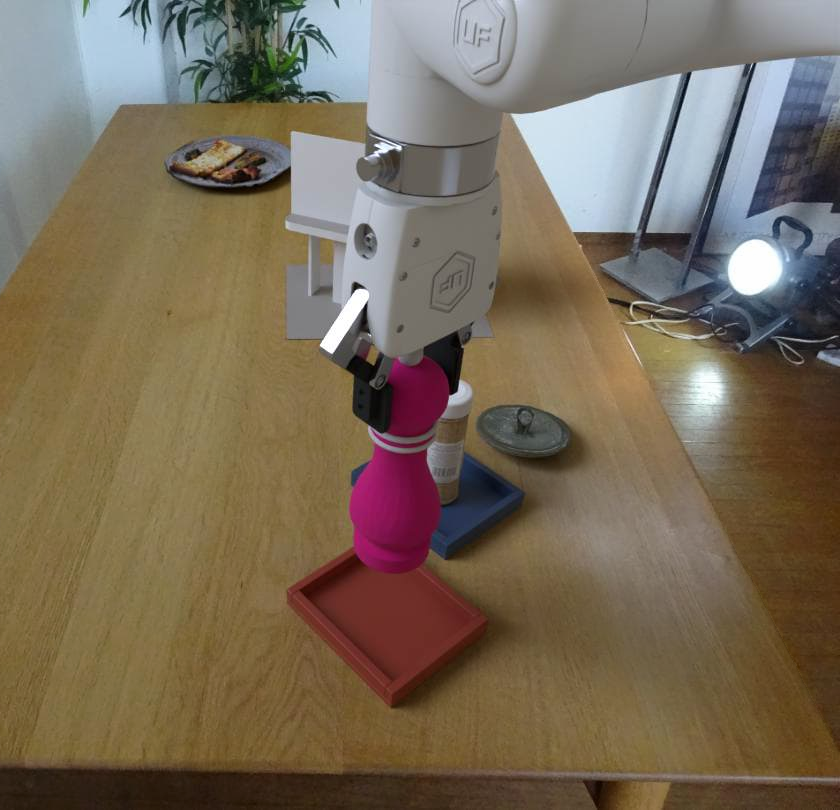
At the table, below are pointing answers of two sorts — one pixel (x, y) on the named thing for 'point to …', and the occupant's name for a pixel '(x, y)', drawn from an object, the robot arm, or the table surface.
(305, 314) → the architectural model
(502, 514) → the blue tray
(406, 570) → the pepper mill
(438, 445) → the sprinkles bottle
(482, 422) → the lid
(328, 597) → the red tray
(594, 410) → the table surface
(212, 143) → the food plate
